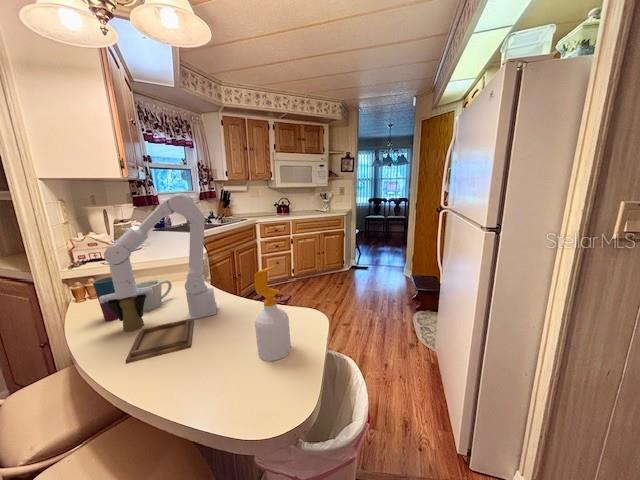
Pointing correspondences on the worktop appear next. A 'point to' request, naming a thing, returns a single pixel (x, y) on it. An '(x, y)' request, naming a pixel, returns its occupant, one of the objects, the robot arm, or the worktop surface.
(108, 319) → the cup
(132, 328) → the olive-green waisted figurine
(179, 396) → the worktop surface
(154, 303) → the mug
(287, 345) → the soap bottle
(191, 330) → the spice tray
